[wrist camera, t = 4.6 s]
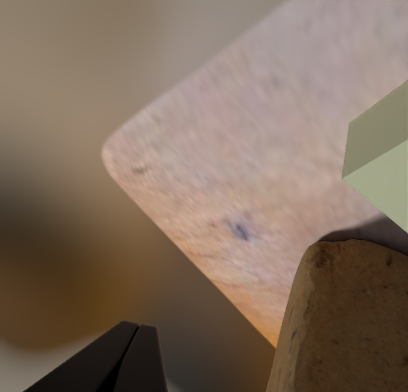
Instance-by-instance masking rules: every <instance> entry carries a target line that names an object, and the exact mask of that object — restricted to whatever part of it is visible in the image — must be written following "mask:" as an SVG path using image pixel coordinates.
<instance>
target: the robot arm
mask: <svg viewBox="0 0 408 392" xmlns="http://www.w3.org/2000/svg"><path fill="white" fill-rule="evenodd" d="M23 392H168V389H167V382H166V377H165V371H164V365H163V359H162V353H161V347H160V341H159V335H158V329H157V327H156V326H152V325H146V324H141V325H140V326H139V324H138V323H136V322H130V321H121V322H119V323H118V324H117V325H115V326H114V327H112V328H111V329H110V330H108V331H107V332H105V333H104V334H103V335H101V336H100V337H98V338H97V339H96V340H94V341H93V342H92V343H90V344H89V345H87V346H86V347H85V348H83V349H82V350H81V351H79V352H78V353H76V354H75V355H73V356H72V357H71V358H69V359H68V360H66V361H65V362H64V363H62V364H61V365H59V366H58V367H57V368H55V369H54V370H53V371H51V372H50V373H48V374H47V375H46V376H44V377H43V378H42V379H40V380H39V381H37V382H36V383H34V384H33V385H32V386H30V387H29V388H27V389H26V390H25V391H23Z"/></svg>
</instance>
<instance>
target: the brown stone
mask: <svg viewBox="0 0 408 392" xmlns="http://www.w3.org/2000/svg"><path fill="white" fill-rule="evenodd" d="M266 392H408V257H407V256H406V255H404V254H402V253H400V252H398V251H395V250H393V249H390V248H387V247H384V246H381V245H378V244H375V243H372V242H369V241H364V240H356V239H349V240H347V241H335V242H327V241H321V242H316V243H314V244H313V245H311V246H309V248H308V249H307V250H306V252H305V253H304V255H303V257H302V259H301V262H300V264H299V266H298V269H297V272H296V275H295V278H294V281H293V284H292V288H291V292H290V296H289V300H288V304H287V307H286V311H285V314H284V318H283V322H282V326H281V330H280V334H279V338H278V343H277V348H276V352H275V357H274V362H273V366H272V371H271V375H270V379H269V383H268V386H267V390H266Z"/></svg>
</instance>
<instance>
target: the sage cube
mask: <svg viewBox="0 0 408 392" xmlns="http://www.w3.org/2000/svg"><path fill="white" fill-rule="evenodd" d="M342 180H344V181H345V182H346V183H347V184H348V185H350V186H351V187H352V188H353V189H355V190H356V191H357V192H358V193H359V194H361V195H362V196H363V197H364V198H366V199H367V200H368V201H369V202H370V203H372V204H373V205H374V206H375V207H377V208H378V209H379V210H380V211H381V212H383V213H384V214H385V215H386V216H388V217H389V218H390V219H391V220H392V221H394V222H395V223H396V224H397V225H399V226H400V227H401V228H402V229H403V230H405V231H406V232H407V233H408V80H407V81H406V82H404V83H403V84H402V85H400V86H399V87H398V88H396V89H395V90H394V91H392V92H391V93H390V94H388V95H387V96H386V97H384V98H383V99H381V100H380V101H379V102H377V103H376V104H375V105H373V106H372V107H371V108H369V109H368V110H367V111H365V112H364V113H363V114H361V115H360V116H359V117H357V118H356V119H355V120H353V121H352V122H351V123H349V128H348V135H347V143H346V150H345V158H344V165H343V172H342Z"/></svg>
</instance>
